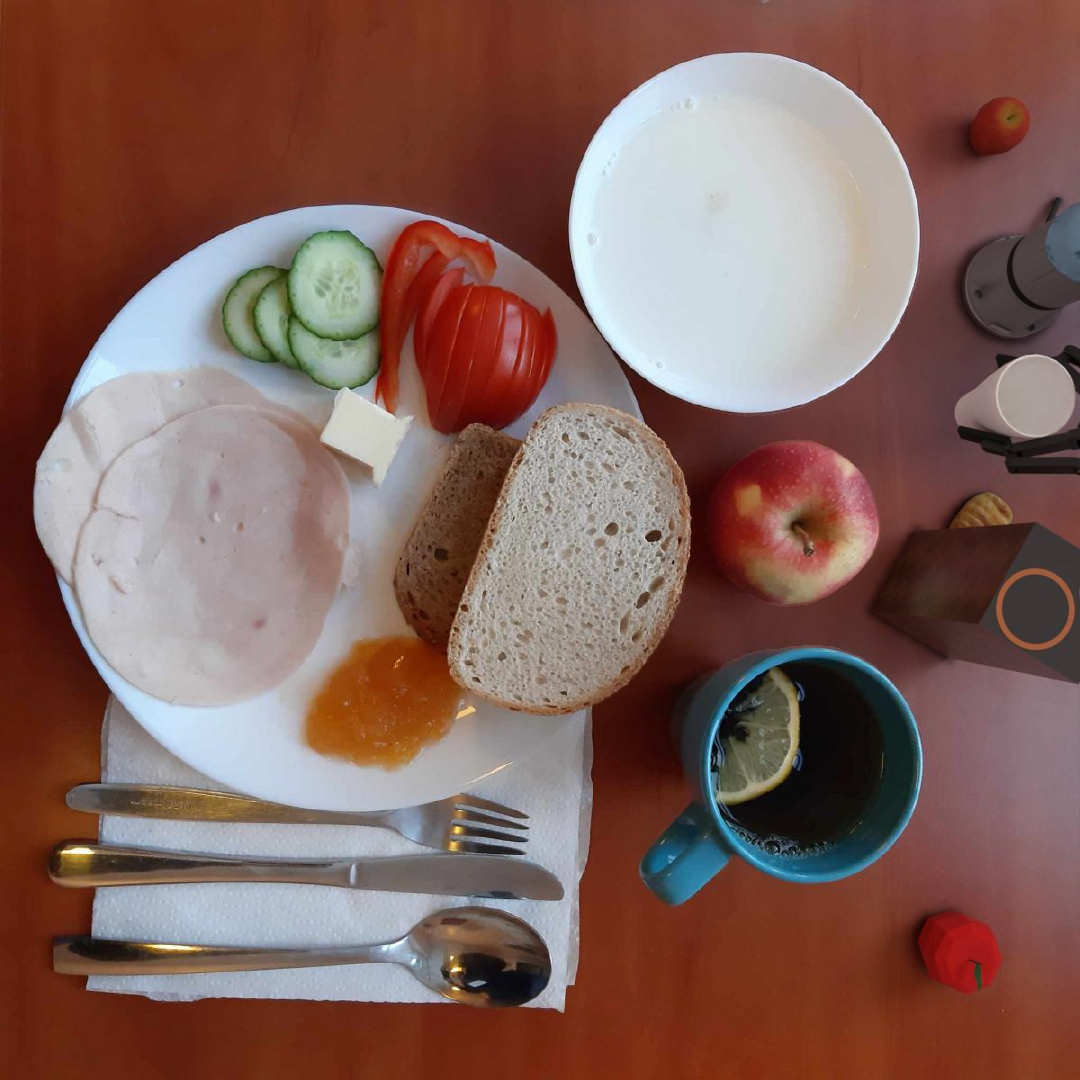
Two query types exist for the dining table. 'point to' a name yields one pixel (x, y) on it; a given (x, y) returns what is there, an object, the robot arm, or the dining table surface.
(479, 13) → the dining table surface
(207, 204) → the dining table surface
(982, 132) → the apple
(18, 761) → the dining table surface
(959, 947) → the apple
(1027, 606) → the hob plate
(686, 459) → the dining table surface
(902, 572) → the stove stand
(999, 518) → the pastry
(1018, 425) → the cup
